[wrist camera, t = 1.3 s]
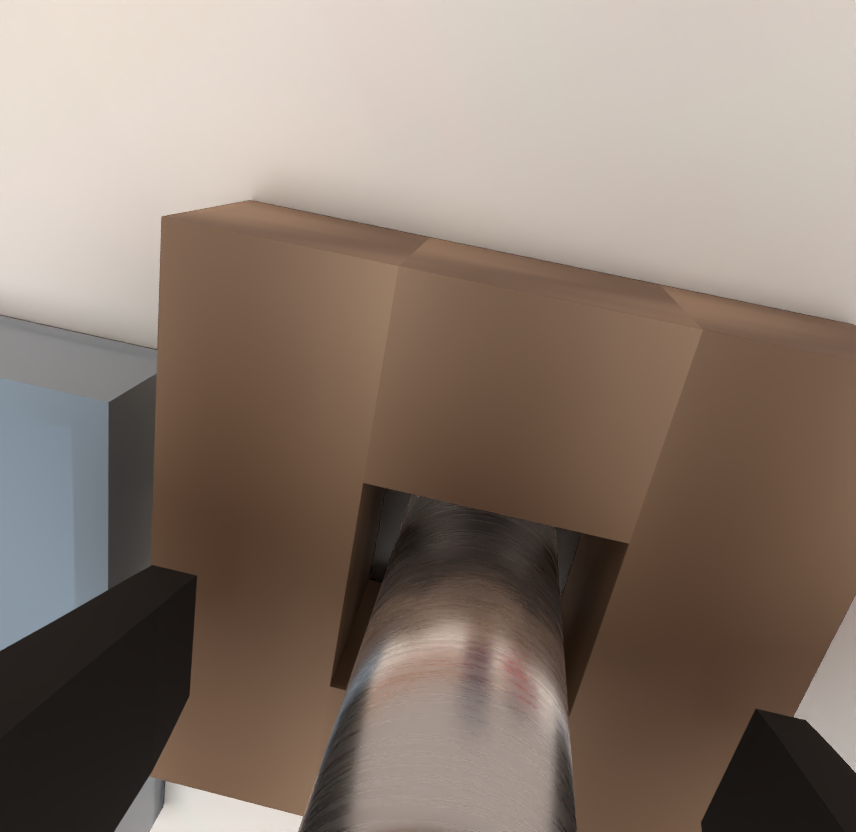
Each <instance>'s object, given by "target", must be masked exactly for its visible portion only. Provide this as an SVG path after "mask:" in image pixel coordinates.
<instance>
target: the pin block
mask: <svg viewBox="0 0 856 832" xmlns="http://www.w3.org/2000/svg"><path fill="white" fill-rule="evenodd" d="M385 488H388V489H392V490H396V491H401V492H405V493H409V494H414V495H418V496H423V497H427V498H431V499H436V500H440V501H445V502H449V503H453V504H458V505H462V506H466V507H471V508H475V509H480V510H484V511H488V512H493V513H497V514H501V515H506V516H510V517H515V518H519V519H523V520H528V521H532V522H536V523H541V524H545V525H550V526H554V527H558V528H563V529H567V530H571V531H576V532H580V533H582V534H581V537H580V540H579V544H578V547H577V550H576V553H575V556H574V560H573V563H572V566H571V569H570V572H569V576H568V579H567V582H566V585H565V588H564V592H563V595H562V598H561V601H560V602H561V615H562V629H563V643H564V657H565V671H566V685H567V699H568V713H569V727H570V741H571V755H572V769H573V783H574V796H575V810H576V824H577V832H702V828H701V821H702V819H703V817H704V815H705V813H706V811H707V809H708V806H709V804H710V802H711V800H712V798H713V796H714V794H715V792H716V790H717V788H718V786H719V784H720V782H721V779H722V777H723V775H724V773H725V771H726V769H727V767H728V765H729V763H730V761H731V759H732V757H733V755H734V752H735V750H736V748H737V746H738V744H739V742H740V740H741V738H742V736H743V734H744V732H745V730H746V728H747V725H748V723H749V721H750V719H751V717H752V715H753V713H754V711H755V709H760V710H764V711H769V712H773V713H777V714H781V715H785V716H790V717H793V716H794V714H795V712H796V710H797V708H798V707H799V705H800V703H801V701H802V699H803V697H804V695H805V693H806V691H807V689H808V687H809V685H810V683H811V681H812V679H813V677H814V675H815V673H816V671H817V669H818V667H819V665H820V664H821V662H822V660H823V658H824V656H825V654H826V652H827V650H828V648H829V646H830V644H831V642H832V640H833V638H834V636H835V634H836V632H837V630H838V628H839V626H840V624H841V622H842V621H843V619H844V617H845V615H846V613H847V611H848V609H849V607H850V605H851V603H852V601H853V599H854V597H855V595H856V326H855V325H853V324H848V323H843V322H838V321H834V320H829V319H824V318H819V317H814V316H809V315H804V314H800V313H795V312H790V311H785V310H780V309H775V308H771V307H766V306H761V305H756V304H751V303H746V302H741V301H737V300H732V299H727V298H722V297H717V296H712V295H707V294H703V293H698V292H693V291H688V290H683V289H678V288H673V287H669V286H664V285H659V284H654V283H649V282H644V281H639V280H635V279H630V278H625V277H620V276H615V275H610V274H605V273H601V272H596V271H591V270H586V269H581V268H576V267H572V266H567V265H562V264H557V263H552V262H547V261H542V260H538V259H533V258H528V257H523V256H518V255H513V254H508V253H504V252H499V251H494V250H489V249H484V248H479V247H474V246H470V245H465V244H460V243H455V242H450V241H445V240H440V239H436V238H431V237H426V236H421V235H416V234H411V233H406V232H402V231H397V230H392V229H387V228H382V227H377V226H373V225H368V224H363V223H358V222H353V221H348V220H343V219H339V218H334V217H329V216H324V215H319V214H314V213H309V212H305V211H300V210H295V209H290V208H285V207H280V206H275V205H271V204H266V203H261V202H256V201H251V200H248V201H243V202H237V203H232V204H226V205H221V206H216V207H210V208H205V209H199V210H194V211H189V212H183V213H178V214H172V215H167V216H162V220H161V252H160V284H159V316H158V347H157V379H156V411H155V443H154V475H153V507H152V538H151V565H155V566H159V567H163V568H168V569H172V570H176V571H180V572H184V573H189V574H193V575H197V587H196V603H195V619H194V635H193V651H192V667H191V683H190V696H189V698H188V700H187V702H186V704H185V706H184V708H183V711H182V713H181V715H180V717H179V719H178V721H177V723H176V725H175V727H174V729H173V731H172V733H171V735H170V737H169V739H168V741H167V743H166V745H165V747H164V749H163V751H162V753H161V755H160V757H159V759H158V761H157V763H156V765H155V767H154V769H153V771H152V773H151V774H150V776H149V777H153V778H157V779H161V780H165V781H169V782H173V783H177V784H180V785H184V786H188V787H192V788H196V789H200V790H204V791H207V792H211V793H215V794H219V795H223V796H227V797H231V798H235V799H238V800H242V801H246V802H250V803H254V804H258V805H262V806H265V807H269V808H273V809H277V810H281V811H285V812H289V813H293V814H296V815H300V816H304V813H305V810H306V807H307V804H308V801H309V798H310V795H311V792H312V789H313V786H314V783H315V780H316V777H317V774H318V771H319V768H320V766H321V763H322V760H323V757H324V754H325V751H326V748H327V745H328V742H329V739H330V736H331V733H332V730H333V727H334V724H335V721H336V718H337V715H338V712H339V709H340V706H341V703H342V700H343V697H344V694H345V691H346V688H347V685H348V682H349V679H350V676H351V673H352V670H353V667H354V664H355V662H356V659H357V656H358V653H359V650H360V647H361V644H362V641H363V638H364V635H365V632H366V629H367V626H368V623H369V620H370V617H371V614H372V611H373V608H374V605H375V602H376V599H377V596H378V593H379V590H380V587H381V584H382V583H381V582H377V581H372V580H369V577H370V571H371V566H372V560H373V555H374V549H375V543H376V538H377V532H378V527H379V521H380V516H381V510H382V504H383V499H384V493H385Z"/></svg>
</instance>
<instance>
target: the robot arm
mask: <svg viewBox="0 0 856 832" xmlns="http://www.w3.org/2000/svg"><path fill="white" fill-rule="evenodd" d="M196 587H197V575H193V574H189V573H184V572H180V571H176V570H172V569H168V568H163V567H159V566H155V565H151V566H150V567H148V568H146V569H144V570H142V571H140V572H138V573H137V574H135V575H133V576H131V577H130V578H128V579H126V580H124V581H123V582H121V583H119V584H117V585H116V586H114V587H112V588H110V589H109V590H107V591H105V592H104V593H102V594H100V595H98V596H97V597H95V598H93V599H91V600H90V601H88V602H86V603H84V604H83V605H81V606H79V607H77V608H76V609H74V610H72V611H70V612H69V613H67V614H65V615H63V616H62V617H60V618H58V619H56V620H55V621H53V622H51V623H49V624H48V625H46V626H44V627H42V628H40V629H39V630H37V631H35V632H33V633H31V634H30V635H28V636H26V637H24V638H22V639H21V640H19V641H17V642H15V643H13V644H12V645H10V646H8V647H6V648H4V649H3V650H1V651H0V832H114V831H115V830H116V828H117V826H118V825H119V823H120V822H121V820H122V819H123V817H124V815H125V814H126V812H127V811H128V809H129V808H130V806H131V804H132V803H133V801H134V800H135V798H136V797H137V795H138V793H139V792H140V790H141V789H142V787H143V785H144V784H145V782H146V781H147V779H148V777H149V776H150V774H151V773H152V771H153V769H154V767H155V765H156V763H157V761H158V759H159V757H160V755H161V753H162V751H163V749H164V747H165V745H166V743H167V741H168V739H169V737H170V735H171V733H172V731H173V729H174V727H175V725H176V723H177V721H178V719H179V717H180V715H181V713H182V711H183V708H184V706H185V704H186V702H187V700H188V698H189V696H190V683H191V667H192V651H193V635H194V619H195V603H196ZM701 828H702V832H856V773H855V772H854V771H853V770H852V769H851V767H850V766H849V765H848V764H847V763H846V762H845V761H844V760H843V759H842V758H841V757H840V755H839V754H838V753H837V752H836V751H835V750H834V749H833V748H832V747H831V746H830V745H829V744H828V743H827V742H826V741H825V739H824V738H823V737H822V736H821V735H820V734H819V733H818V732H817V731H816V730H815V729H814V728H813V727H812V726H811V725H810V724H809V723H808V722H807V721H806V720H802V719H798V718H794V717H790V716H785V715H781V714H777V713H773V712H769V711H764V710H760V709H755V711H754V713H753V715H752V717H751V719H750V721H749V723H748V725H747V728H746V730H745V732H744V734H743V736H742V738H741V740H740V742H739V744H738V746H737V748H736V750H735V752H734V755H733V757H732V759H731V761H730V763H729V765H728V767H727V769H726V771H725V773H724V775H723V777H722V779H721V782H720V784H719V786H718V788H717V790H716V792H715V794H714V796H713V798H712V800H711V802H710V804H709V806H708V809H707V811H706V813H705V815H704V817H703V819H702V821H701Z"/></svg>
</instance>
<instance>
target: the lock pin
mask: <svg viewBox="0 0 856 832" xmlns="http://www.w3.org/2000/svg"><path fill="white" fill-rule="evenodd" d="M298 832H577V824H576V810H575V796H574V783H573V769H572V755H571V741H570V727H569V713H568V699H567V685H566V671H565V657H564V643H563V629H562V615H561V602H560V588H559V574H558V560H557V546H556V532H555V527H554V526H550V525H545V524H541V523H536V522H532V521H528V520H523V519H519V518H515V517H510V516H506V515H501V514H497V513H493V512H488V511H484V510H480V509H475V508H471V507H466V506H462V505H458V504H453V503H449V502H445V501H440V500H436V499H431V498H427V497H423V496H418V495H414V494H412V495H411V498H410V501H409V504H408V507H407V510H406V513H405V516H404V519H403V522H402V525H401V528H400V531H399V534H398V537H397V540H396V543H395V546H394V549H393V552H392V555H391V557H390V560H389V563H388V566H387V569H386V572H385V575H384V578H383V581H382V584H381V587H380V590H379V593H378V596H377V599H376V602H375V605H374V608H373V611H372V614H371V617H370V620H369V623H368V626H367V629H366V632H365V635H364V638H363V641H362V644H361V647H360V650H359V653H358V656H357V659H356V662H355V664H354V667H353V670H352V673H351V676H350V679H349V682H348V685H347V688H346V691H345V694H344V697H343V700H342V703H341V706H340V709H339V712H338V715H337V718H336V721H335V724H334V727H333V730H332V733H331V736H330V739H329V742H328V745H327V748H326V751H325V754H324V757H323V760H322V763H321V766H320V768H319V771H318V774H317V777H316V780H315V783H314V786H313V789H312V792H311V795H310V798H309V801H308V804H307V807H306V810H305V813H304V816H303V819H302V822H301V825H300V828H299V831H298Z"/></svg>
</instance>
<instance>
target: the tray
mask: <svg viewBox="0 0 856 832" xmlns="http://www.w3.org/2000/svg"><path fill="white" fill-rule="evenodd" d="M156 379H157V350H154V349H150V348H145V347H141V346H136V345H132V344H127V343H123V342H118V341H114V340H109V339H105V338H100V337H96V336H91V335H86V334H82V333H77V332H73V331H68V330H64V329H59V328H55V327H50V326H46V325H41V324H37V323H32V322H28V321H23V320H19V319H14V318H9V317H5V316H0V651H1V650H3V649H4V648H6V647H8V646H10V645H12V644H13V643H15V642H17V641H19V640H21V639H22V638H24V637H26V636H28V635H30V634H31V633H33V632H35V631H37V630H39V629H40V628H42V627H44V626H46V625H48V624H49V623H51V622H53V621H55V620H56V619H58V618H60V617H62V616H63V615H65V614H67V613H69V612H70V611H72V610H74V609H76V608H77V607H79V606H81V605H83V604H84V603H86V602H88V601H90V600H91V599H93V598H95V597H97V596H98V595H100V594H102V593H104V592H105V591H107V590H109V589H110V588H112V587H114V586H116V585H117V584H119V583H121V582H123V581H124V580H126V579H128V578H130V577H131V576H133V575H135V574H137V573H138V572H140V571H142V570H144V569H146V568H148V567H150V566H151V538H152V507H153V475H154V443H155V411H156ZM164 782H165V780H161V779H157V778H153V777H148V779H147V781H146V782H145V784H144V785H143V787H142V789H141V790H140V792H139V793H138V795H137V797H136V798H135V800H134V801H133V803H132V804H131V806H130V808H129V809H128V811H127V812H126V814H125V815H124V817H123V819H122V820H121V822H120V823H119V825H118V826H117V828H116V830H115V831H114V832H149V831H150V829H151V828H152V826H153V824H154V822H155V820H156V819H157V817H158V815H159V813H160V811H161V810H162V808H163V803H164Z"/></svg>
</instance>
